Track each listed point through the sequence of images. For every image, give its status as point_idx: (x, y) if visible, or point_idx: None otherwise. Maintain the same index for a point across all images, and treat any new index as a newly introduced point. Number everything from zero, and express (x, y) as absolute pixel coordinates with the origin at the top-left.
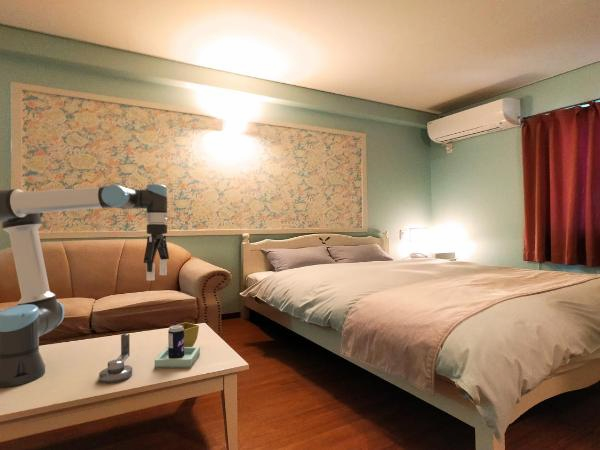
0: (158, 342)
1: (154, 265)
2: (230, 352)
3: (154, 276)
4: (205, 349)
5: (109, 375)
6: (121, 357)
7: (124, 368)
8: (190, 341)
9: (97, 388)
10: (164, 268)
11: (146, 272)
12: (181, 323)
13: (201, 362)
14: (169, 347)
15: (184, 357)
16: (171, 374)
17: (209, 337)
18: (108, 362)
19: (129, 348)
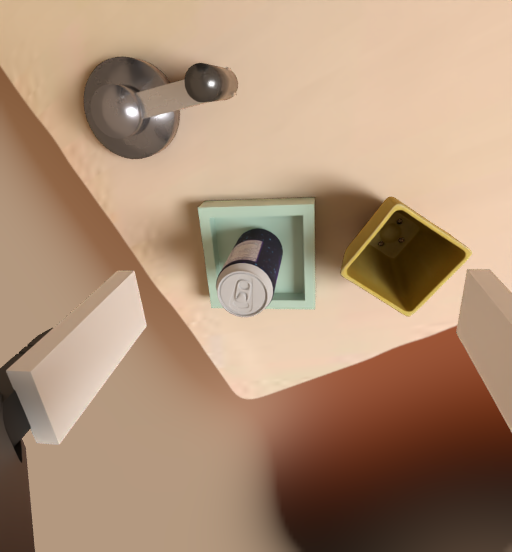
0: (471, 105)
1: (76, 419)
2: (327, 371)
3: (130, 344)
4: (359, 304)
5: None
6: (174, 96)
7: (149, 128)
8: (374, 268)
9: (64, 96)
10: (485, 364)
11: (76, 307)
12: (452, 240)
13: None
14: (233, 248)
15: None
16: (172, 260)
17: None
18: (105, 86)
19: (222, 99)
